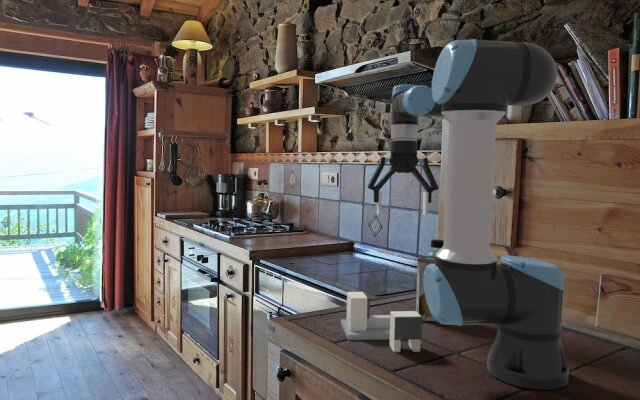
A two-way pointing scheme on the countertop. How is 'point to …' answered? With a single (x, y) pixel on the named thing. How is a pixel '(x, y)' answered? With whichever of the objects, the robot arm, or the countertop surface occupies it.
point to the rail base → (364, 319)
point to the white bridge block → (405, 329)
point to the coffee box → (420, 295)
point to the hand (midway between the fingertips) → (402, 214)
